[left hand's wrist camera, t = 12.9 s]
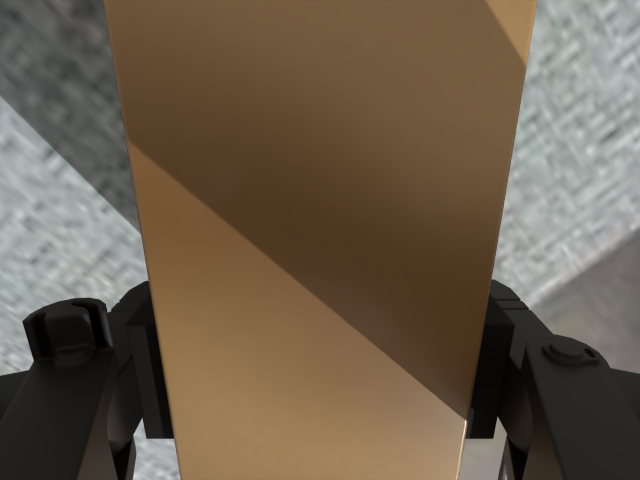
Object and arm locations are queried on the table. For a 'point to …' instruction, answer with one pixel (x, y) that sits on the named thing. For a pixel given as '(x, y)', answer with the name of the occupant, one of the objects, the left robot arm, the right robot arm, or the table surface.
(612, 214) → the table surface
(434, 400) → the bar
